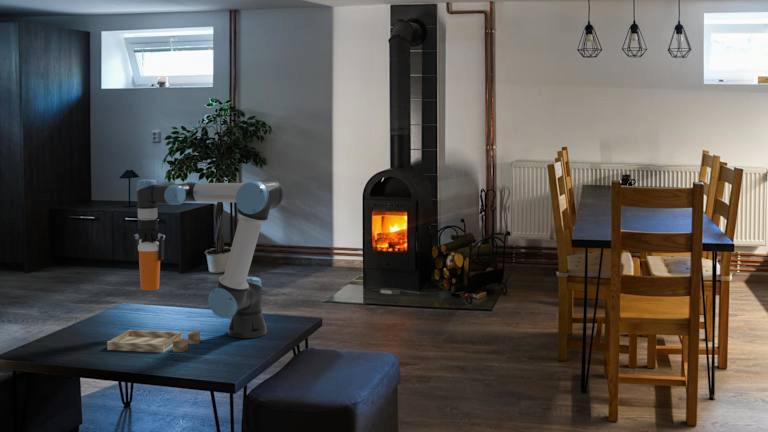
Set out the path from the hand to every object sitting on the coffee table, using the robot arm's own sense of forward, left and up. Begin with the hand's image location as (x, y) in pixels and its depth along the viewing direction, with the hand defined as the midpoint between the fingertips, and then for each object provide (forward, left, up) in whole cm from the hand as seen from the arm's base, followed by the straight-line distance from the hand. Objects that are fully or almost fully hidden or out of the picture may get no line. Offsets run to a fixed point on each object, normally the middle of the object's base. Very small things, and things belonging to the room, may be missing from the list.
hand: (150, 277), depth 335 cm
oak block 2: (-22, +10, -23) cm, 33 cm away
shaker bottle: (0, 0, -5) cm, 5 cm away
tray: (-5, +16, -23) cm, 28 cm away
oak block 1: (-21, +21, -23) cm, 37 cm away
